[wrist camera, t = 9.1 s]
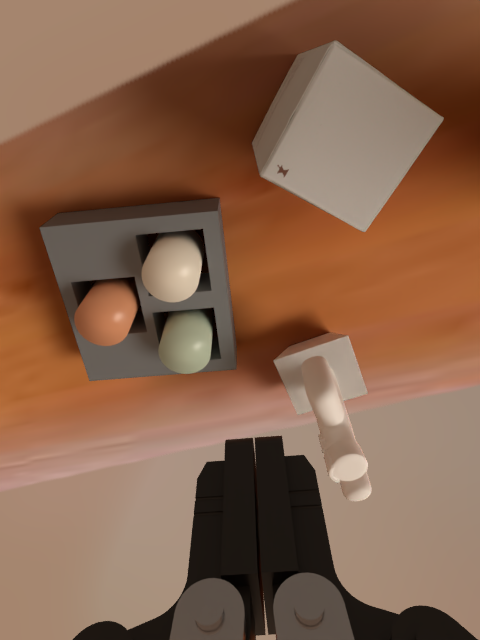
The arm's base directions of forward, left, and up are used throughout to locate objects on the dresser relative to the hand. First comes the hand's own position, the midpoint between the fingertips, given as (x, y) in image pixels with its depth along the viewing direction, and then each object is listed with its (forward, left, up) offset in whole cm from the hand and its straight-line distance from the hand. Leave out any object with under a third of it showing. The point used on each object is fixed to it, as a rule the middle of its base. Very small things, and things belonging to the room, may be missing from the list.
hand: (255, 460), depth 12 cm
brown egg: (+12, +7, -28) cm, 32 cm away
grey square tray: (+9, +7, -29) cm, 31 cm away
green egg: (+6, +11, -28) cm, 31 cm away
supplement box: (-6, -5, -29) cm, 30 cm away
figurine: (-6, +17, -29) cm, 34 cm away
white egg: (+6, +4, -28) cm, 29 cm away
